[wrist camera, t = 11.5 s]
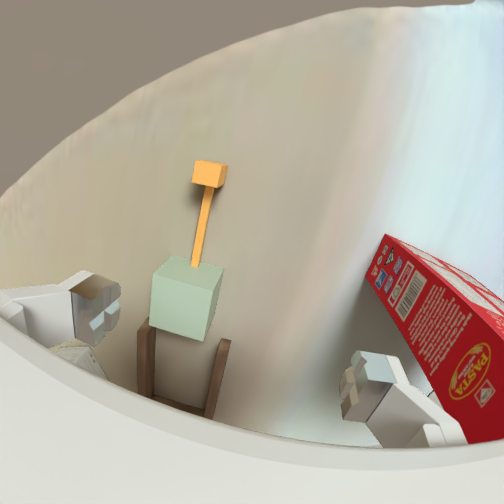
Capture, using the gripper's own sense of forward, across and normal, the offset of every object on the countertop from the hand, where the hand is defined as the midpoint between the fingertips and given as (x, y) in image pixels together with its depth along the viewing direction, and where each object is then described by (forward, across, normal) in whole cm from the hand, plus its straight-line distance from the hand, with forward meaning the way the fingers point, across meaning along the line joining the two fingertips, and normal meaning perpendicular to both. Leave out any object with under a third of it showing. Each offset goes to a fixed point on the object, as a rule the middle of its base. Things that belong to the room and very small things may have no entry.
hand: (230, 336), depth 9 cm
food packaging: (+23, -19, +2) cm, 30 cm away
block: (+22, +7, +4) cm, 23 cm away
